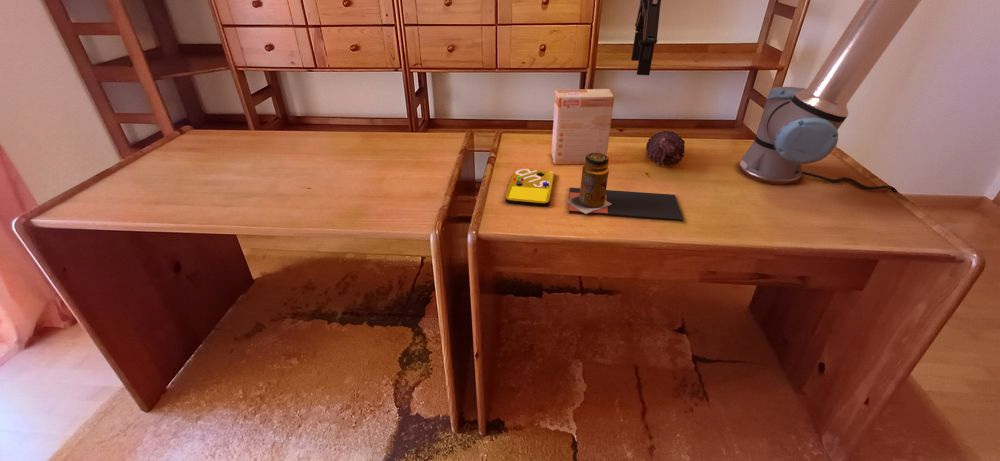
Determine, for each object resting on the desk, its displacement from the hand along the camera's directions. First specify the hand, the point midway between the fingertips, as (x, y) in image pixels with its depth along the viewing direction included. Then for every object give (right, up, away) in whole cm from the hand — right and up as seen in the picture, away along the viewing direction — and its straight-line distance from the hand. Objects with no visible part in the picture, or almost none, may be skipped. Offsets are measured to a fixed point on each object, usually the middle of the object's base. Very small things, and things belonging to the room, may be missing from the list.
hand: (639, 67), depth 114 cm
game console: (-25, -28, +9) cm, 39 cm away
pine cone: (+13, -19, +23) cm, 33 cm away
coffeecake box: (-11, -19, +25) cm, 33 cm away
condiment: (-12, -33, +1) cm, 35 cm away
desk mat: (-3, -33, +2) cm, 33 cm away
